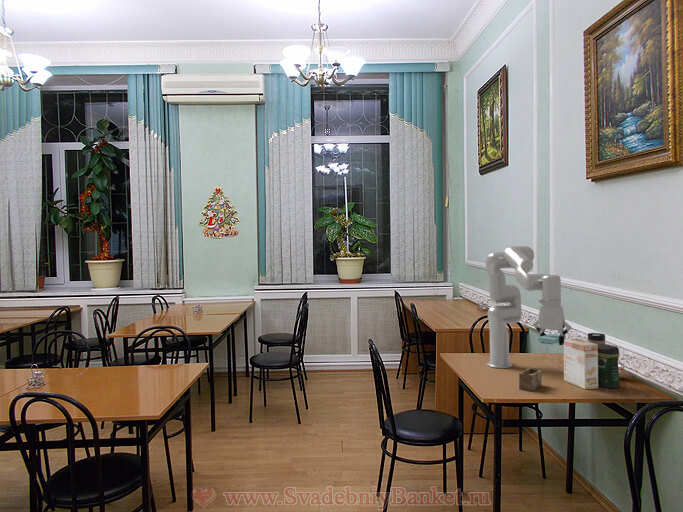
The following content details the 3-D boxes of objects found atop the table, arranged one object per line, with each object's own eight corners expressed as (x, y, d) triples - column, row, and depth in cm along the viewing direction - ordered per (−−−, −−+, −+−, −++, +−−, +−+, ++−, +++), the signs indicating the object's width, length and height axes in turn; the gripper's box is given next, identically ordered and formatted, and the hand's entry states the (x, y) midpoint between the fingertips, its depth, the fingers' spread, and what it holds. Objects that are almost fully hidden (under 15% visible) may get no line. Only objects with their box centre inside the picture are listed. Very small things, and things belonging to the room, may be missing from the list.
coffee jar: (623, 387, 218) (623, 345, 217) (610, 389, 215) (609, 347, 215) (604, 382, 227) (604, 341, 227) (591, 384, 224) (591, 343, 224)
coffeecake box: (599, 388, 218) (598, 344, 217) (584, 389, 216) (584, 345, 216) (577, 379, 232) (576, 338, 232) (563, 380, 231) (562, 338, 231)
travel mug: (605, 374, 240) (604, 333, 240) (606, 378, 233) (605, 336, 233) (587, 373, 243) (587, 332, 243) (588, 376, 236) (587, 335, 236)
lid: (549, 339, 224) (549, 333, 224) (565, 340, 220) (565, 335, 220) (538, 343, 215) (538, 337, 215) (555, 345, 210) (555, 339, 210)
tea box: (529, 383, 227) (529, 368, 227) (541, 385, 224) (541, 369, 224) (519, 389, 218) (519, 373, 218) (532, 391, 215) (532, 375, 215)
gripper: (528, 302, 220) (529, 342, 220) (569, 305, 208) (570, 347, 209) (534, 301, 226) (535, 340, 226) (575, 303, 214) (575, 344, 214)
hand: (552, 343), depth 217 cm, fingers closed on lid, 7 cm apart
